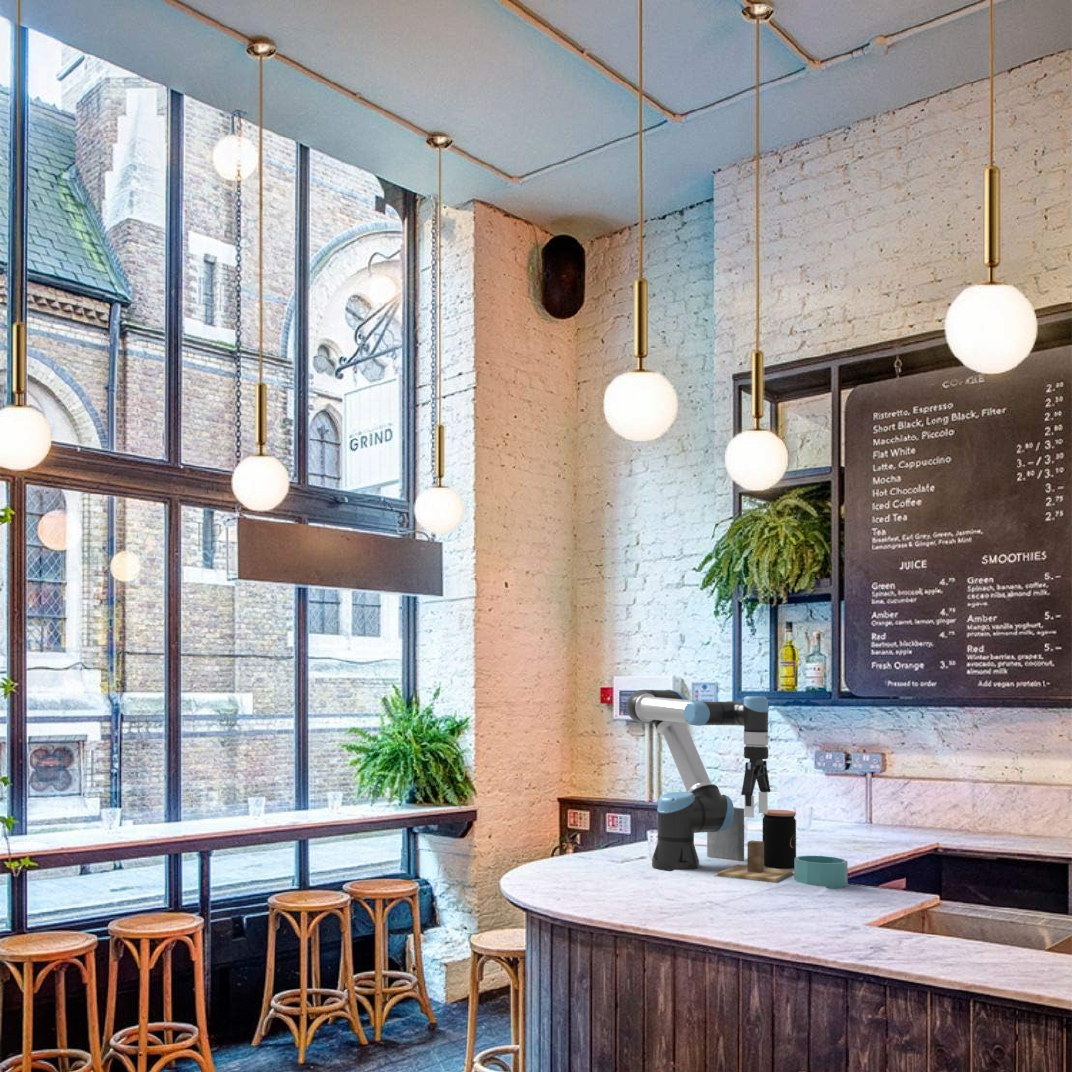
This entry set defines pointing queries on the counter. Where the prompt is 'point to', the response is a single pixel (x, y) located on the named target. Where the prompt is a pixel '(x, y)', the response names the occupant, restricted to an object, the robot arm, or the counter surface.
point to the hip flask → (728, 840)
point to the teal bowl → (821, 871)
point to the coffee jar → (779, 839)
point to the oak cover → (755, 866)
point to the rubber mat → (759, 880)
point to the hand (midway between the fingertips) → (756, 815)
